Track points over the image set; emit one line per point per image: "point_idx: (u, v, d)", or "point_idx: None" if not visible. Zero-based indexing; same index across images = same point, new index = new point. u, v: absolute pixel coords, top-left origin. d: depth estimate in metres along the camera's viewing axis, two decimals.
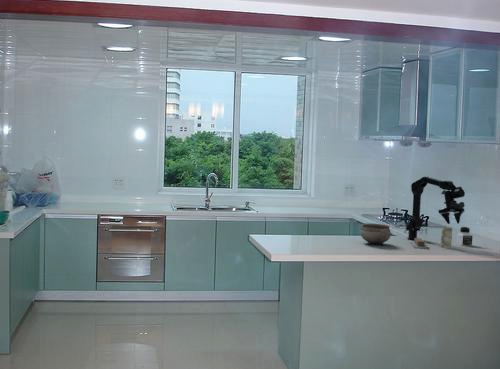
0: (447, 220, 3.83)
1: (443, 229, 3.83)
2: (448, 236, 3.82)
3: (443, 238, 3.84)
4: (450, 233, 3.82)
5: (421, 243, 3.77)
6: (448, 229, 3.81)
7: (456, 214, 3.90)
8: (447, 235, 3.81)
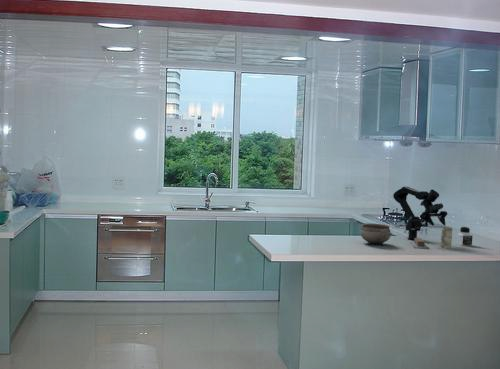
0: (431, 222, 3.90)
1: (443, 229, 3.83)
2: (448, 236, 3.82)
3: (443, 238, 3.84)
4: (450, 233, 3.82)
5: (421, 243, 3.77)
6: (448, 229, 3.81)
7: (440, 218, 3.97)
8: (447, 235, 3.81)
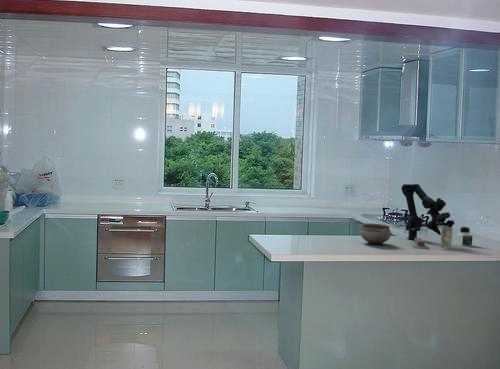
0: (438, 231, 3.83)
1: (443, 229, 3.83)
2: (448, 236, 3.82)
3: (443, 238, 3.84)
4: (450, 233, 3.82)
5: (421, 243, 3.77)
6: (448, 229, 3.81)
7: None
8: (447, 235, 3.81)
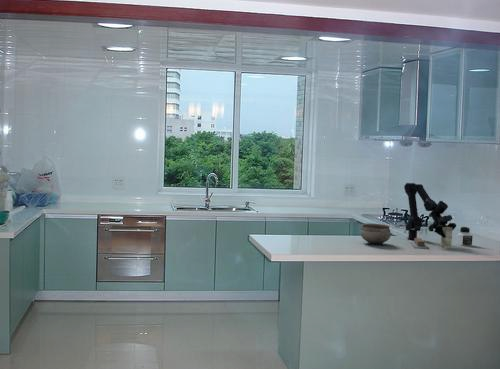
0: (442, 234, 3.83)
1: (443, 229, 3.83)
2: (448, 236, 3.82)
3: (443, 238, 3.83)
4: (450, 233, 3.82)
5: (421, 243, 3.77)
6: (448, 229, 3.81)
7: None
8: (447, 235, 3.81)
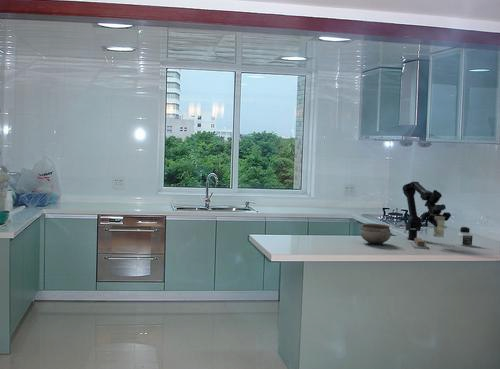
0: (434, 223, 3.82)
1: (435, 218, 3.83)
2: (440, 225, 3.81)
3: (435, 227, 3.83)
4: (442, 222, 3.81)
5: (421, 243, 3.77)
6: (440, 218, 3.80)
7: None
8: (439, 224, 3.80)
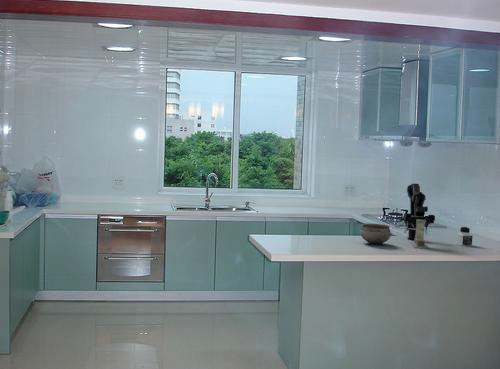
0: (412, 225, 3.85)
1: (416, 221, 3.86)
2: (420, 228, 3.83)
3: (416, 230, 3.86)
4: (422, 225, 3.82)
5: (421, 243, 3.77)
6: (419, 221, 3.82)
7: (426, 222, 3.87)
8: (418, 227, 3.83)
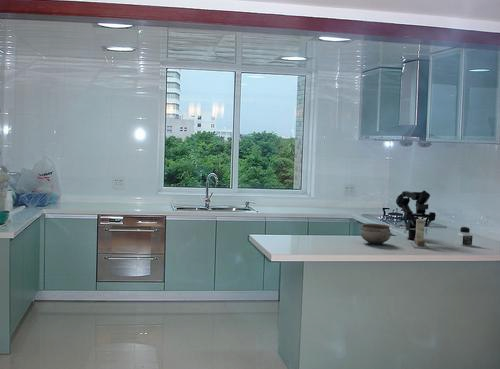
0: (412, 222, 3.96)
1: (416, 221, 3.86)
2: (420, 228, 3.83)
3: (416, 230, 3.86)
4: (422, 225, 3.82)
5: (421, 243, 3.77)
6: (419, 221, 3.82)
7: (428, 219, 3.97)
8: (418, 227, 3.83)
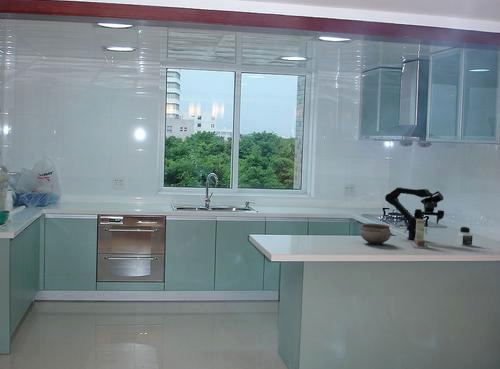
0: None
1: (416, 221, 3.86)
2: (420, 228, 3.83)
3: (416, 230, 3.86)
4: (422, 225, 3.82)
5: (421, 243, 3.77)
6: (419, 221, 3.82)
7: None
8: (418, 227, 3.83)
